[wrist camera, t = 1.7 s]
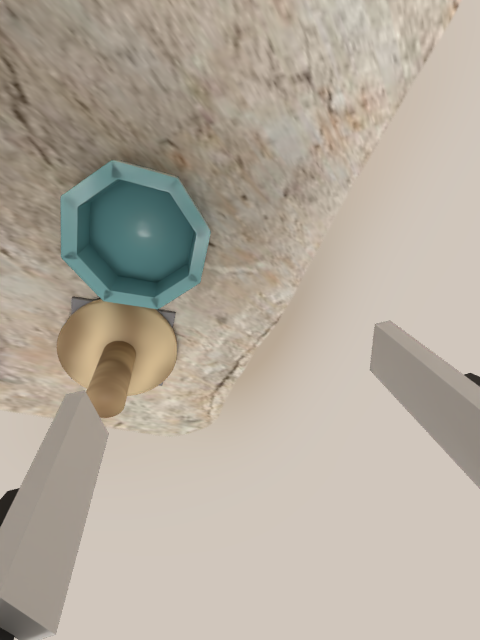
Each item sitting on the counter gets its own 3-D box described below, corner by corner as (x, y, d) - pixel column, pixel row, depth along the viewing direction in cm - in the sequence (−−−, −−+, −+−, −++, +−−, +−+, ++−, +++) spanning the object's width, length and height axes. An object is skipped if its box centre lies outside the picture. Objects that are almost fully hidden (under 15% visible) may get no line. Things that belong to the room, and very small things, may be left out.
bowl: (78, 276, 30) (61, 295, 26) (80, 148, 25) (60, 145, 21) (191, 295, 34) (193, 314, 29) (213, 186, 28) (219, 190, 24)
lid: (62, 384, 36) (26, 450, 27) (61, 288, 30) (16, 335, 22) (168, 391, 39) (165, 452, 31) (185, 307, 34) (186, 353, 25)
